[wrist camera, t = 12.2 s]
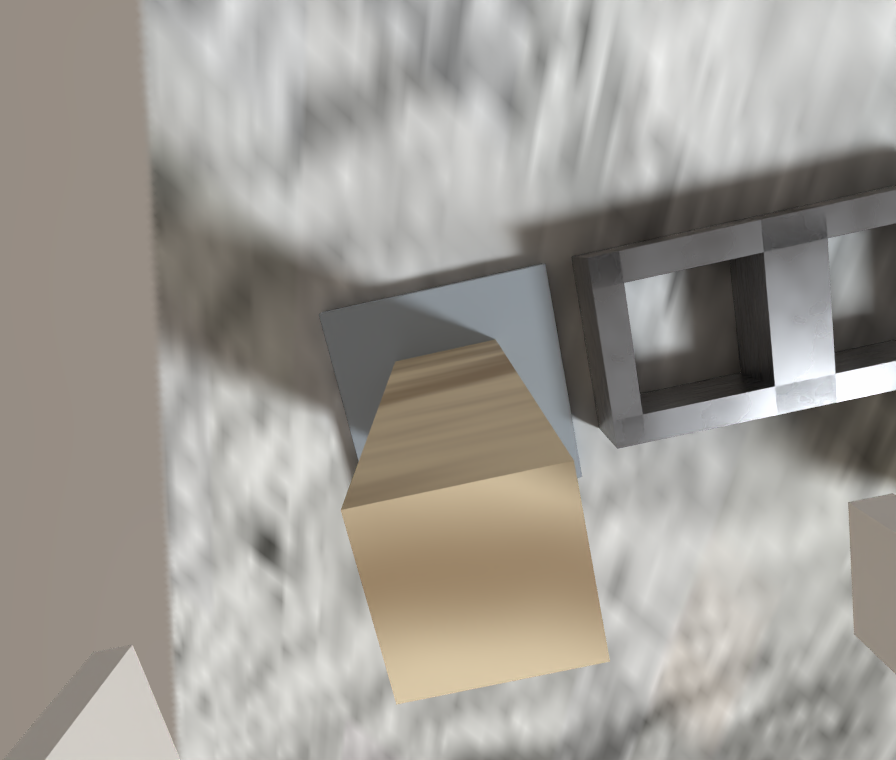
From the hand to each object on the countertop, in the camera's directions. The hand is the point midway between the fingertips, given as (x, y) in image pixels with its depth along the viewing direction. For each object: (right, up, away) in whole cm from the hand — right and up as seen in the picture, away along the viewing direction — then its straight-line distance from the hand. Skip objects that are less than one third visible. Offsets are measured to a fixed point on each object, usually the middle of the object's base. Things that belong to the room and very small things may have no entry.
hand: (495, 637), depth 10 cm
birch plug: (0, +4, +18) cm, 18 cm away
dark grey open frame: (+15, +8, +18) cm, 25 cm away
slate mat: (-1, +4, +19) cm, 19 cm away
